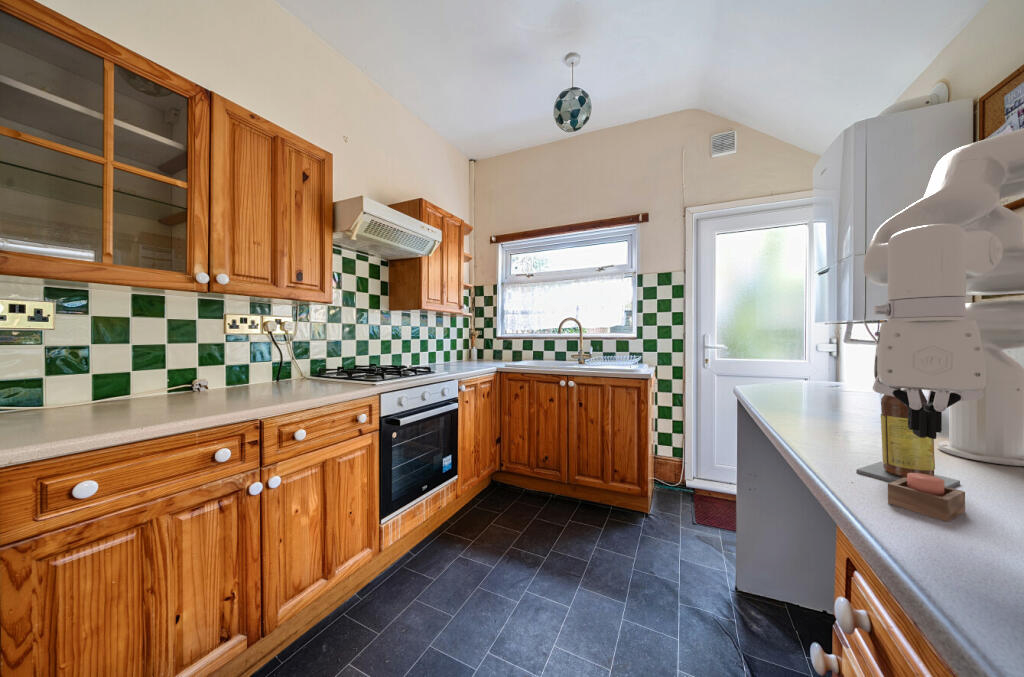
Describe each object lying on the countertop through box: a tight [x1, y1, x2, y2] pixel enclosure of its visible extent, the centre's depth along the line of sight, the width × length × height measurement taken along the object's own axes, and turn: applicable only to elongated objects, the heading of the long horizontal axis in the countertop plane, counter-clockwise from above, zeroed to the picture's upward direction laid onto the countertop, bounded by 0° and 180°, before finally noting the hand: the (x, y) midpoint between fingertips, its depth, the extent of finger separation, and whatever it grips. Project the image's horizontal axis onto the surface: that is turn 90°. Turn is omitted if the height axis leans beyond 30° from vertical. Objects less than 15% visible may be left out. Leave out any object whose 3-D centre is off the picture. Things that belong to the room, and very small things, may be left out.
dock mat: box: [855, 461, 961, 489], centre depth 63 cm, size 9×10×1 cm
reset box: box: [887, 477, 966, 523], centre depth 53 cm, size 6×6×3 cm
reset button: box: [907, 473, 944, 497], centre depth 53 cm, size 4×4×2 cm
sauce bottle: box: [880, 386, 936, 477], centre depth 63 cm, size 6×6×20 cm
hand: (924, 435), depth 52 cm, fingers closed
